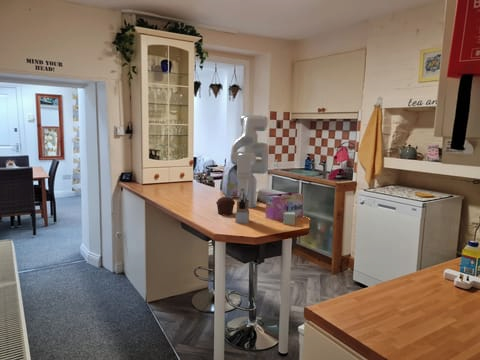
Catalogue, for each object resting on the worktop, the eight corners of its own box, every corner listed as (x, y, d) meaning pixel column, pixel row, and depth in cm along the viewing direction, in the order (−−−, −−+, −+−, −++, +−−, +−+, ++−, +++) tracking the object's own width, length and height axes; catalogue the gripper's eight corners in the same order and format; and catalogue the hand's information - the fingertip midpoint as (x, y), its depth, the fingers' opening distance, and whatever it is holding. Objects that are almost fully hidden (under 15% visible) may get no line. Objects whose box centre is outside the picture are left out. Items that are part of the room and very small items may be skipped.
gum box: (296, 213, 226) (297, 191, 224) (304, 216, 220) (305, 194, 218) (265, 217, 214) (266, 194, 212) (273, 220, 207) (274, 197, 205)
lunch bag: (248, 198, 267) (249, 162, 263) (226, 198, 263) (226, 162, 259) (241, 192, 289) (242, 159, 285) (220, 193, 285) (221, 159, 281)
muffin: (222, 216, 212) (222, 199, 210) (212, 212, 221) (212, 196, 219) (238, 214, 219) (239, 198, 217) (228, 210, 228) (228, 194, 226)
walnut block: (237, 209, 205) (238, 199, 204) (248, 210, 205) (248, 199, 204) (236, 212, 199) (236, 201, 198) (247, 212, 199) (247, 202, 198)
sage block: (283, 221, 205) (283, 211, 204) (294, 222, 205) (294, 211, 204) (283, 224, 199) (284, 213, 198) (294, 225, 199) (295, 214, 198)
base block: (236, 219, 207) (237, 209, 206) (248, 220, 206) (249, 210, 205) (235, 222, 200) (235, 212, 199) (247, 223, 199) (248, 213, 198)
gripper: (238, 173, 208) (237, 203, 211) (235, 177, 191) (234, 210, 193) (251, 173, 207) (250, 204, 210) (249, 178, 190) (248, 211, 193)
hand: (242, 207), depth 202 cm, fingers open, 6 cm apart
